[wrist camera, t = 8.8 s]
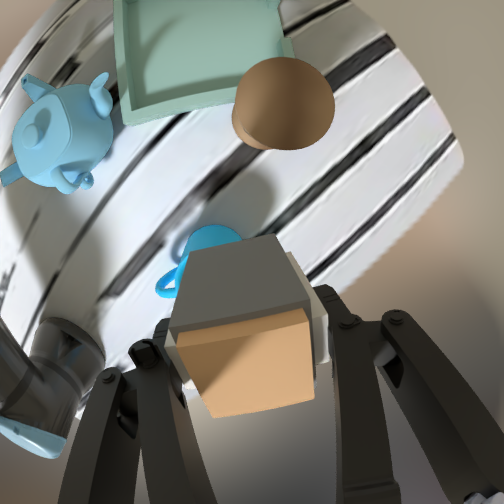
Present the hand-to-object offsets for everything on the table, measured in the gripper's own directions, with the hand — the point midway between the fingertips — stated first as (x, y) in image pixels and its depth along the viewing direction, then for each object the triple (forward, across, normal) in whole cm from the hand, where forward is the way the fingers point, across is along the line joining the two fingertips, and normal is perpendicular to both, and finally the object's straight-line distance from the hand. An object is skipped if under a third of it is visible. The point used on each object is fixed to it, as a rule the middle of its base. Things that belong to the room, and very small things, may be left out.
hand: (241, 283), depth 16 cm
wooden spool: (+19, +6, +11) cm, 22 cm away
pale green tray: (+19, +1, +24) cm, 30 cm away
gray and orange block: (0, 0, 0) cm, 0 cm away
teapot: (+19, -18, +16) cm, 30 cm away
